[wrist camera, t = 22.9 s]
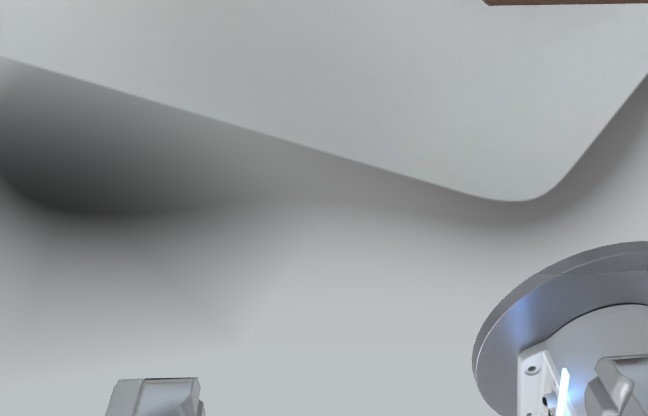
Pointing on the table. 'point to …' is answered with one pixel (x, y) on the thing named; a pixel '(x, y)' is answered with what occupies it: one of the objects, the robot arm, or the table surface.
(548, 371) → the robot arm
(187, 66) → the table surface
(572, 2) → the tray
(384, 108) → the table surface
